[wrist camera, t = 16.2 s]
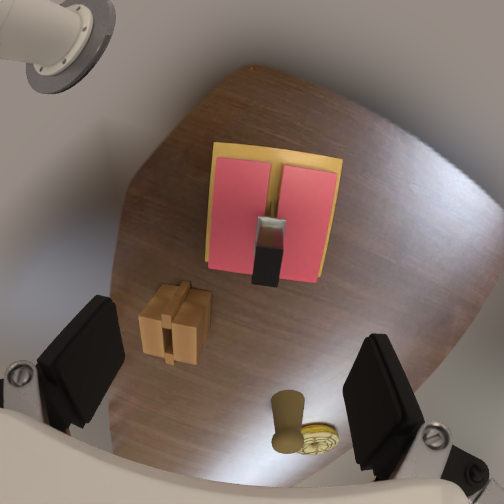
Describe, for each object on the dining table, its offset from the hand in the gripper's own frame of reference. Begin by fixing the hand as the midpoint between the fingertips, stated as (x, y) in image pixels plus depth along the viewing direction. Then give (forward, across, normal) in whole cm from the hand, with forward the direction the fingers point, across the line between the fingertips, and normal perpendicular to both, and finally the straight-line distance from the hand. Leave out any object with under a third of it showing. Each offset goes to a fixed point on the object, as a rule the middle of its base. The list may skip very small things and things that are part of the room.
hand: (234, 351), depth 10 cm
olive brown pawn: (+25, -9, +34) cm, 43 cm away
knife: (+25, -1, +1) cm, 25 cm away
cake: (+25, -1, +1) cm, 25 cm away
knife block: (+25, +9, +16) cm, 31 cm away
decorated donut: (+25, -17, +46) cm, 55 cm away
